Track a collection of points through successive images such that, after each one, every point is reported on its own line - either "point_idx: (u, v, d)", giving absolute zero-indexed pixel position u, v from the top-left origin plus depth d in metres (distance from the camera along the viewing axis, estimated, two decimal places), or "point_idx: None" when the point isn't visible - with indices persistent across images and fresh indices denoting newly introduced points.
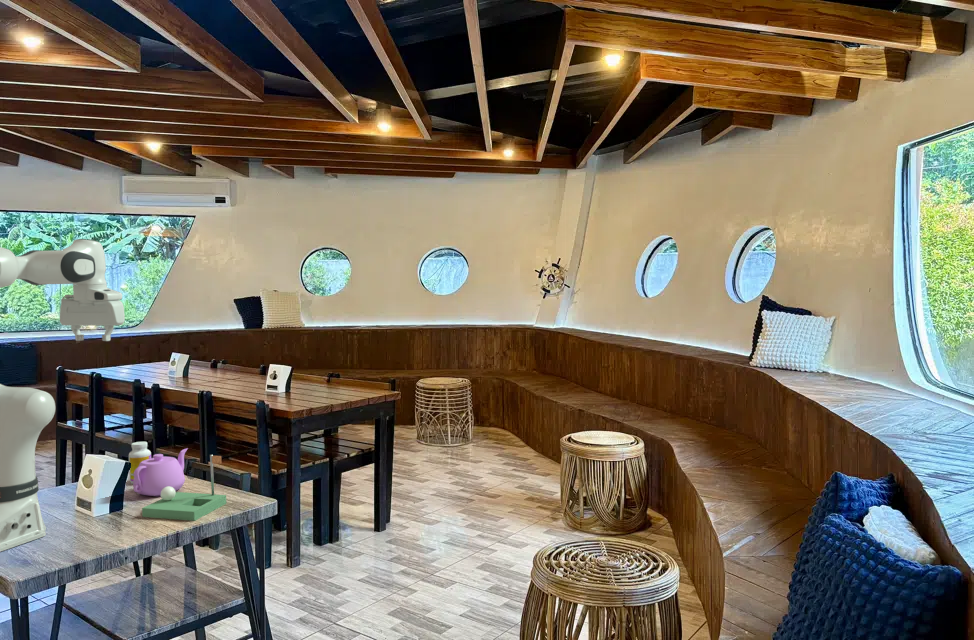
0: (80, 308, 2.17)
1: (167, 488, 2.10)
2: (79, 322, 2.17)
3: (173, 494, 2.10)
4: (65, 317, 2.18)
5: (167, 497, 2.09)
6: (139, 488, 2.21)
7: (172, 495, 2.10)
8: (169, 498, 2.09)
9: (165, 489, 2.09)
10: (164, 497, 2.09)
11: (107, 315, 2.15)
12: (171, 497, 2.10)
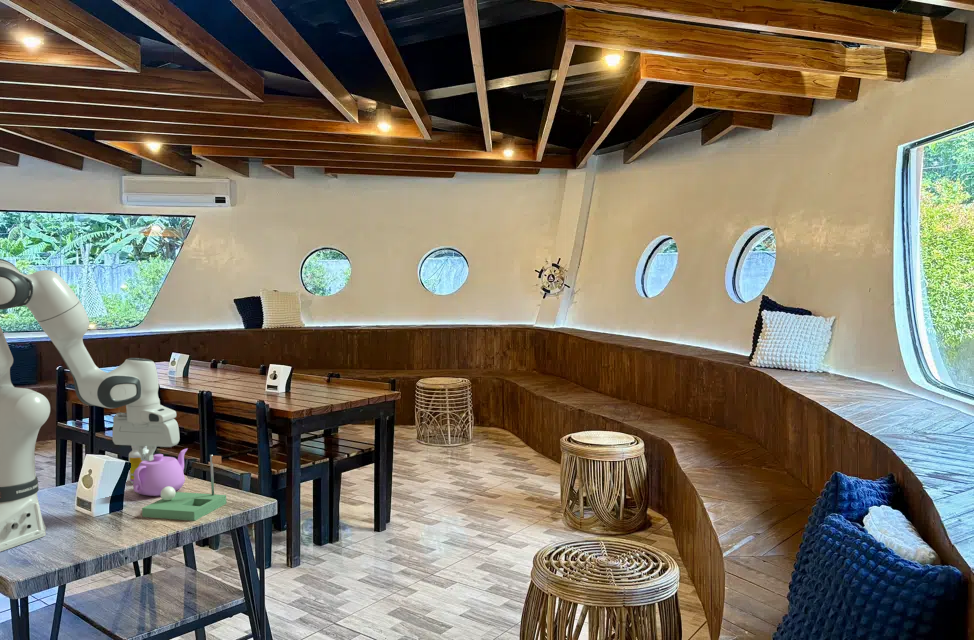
0: (133, 428, 2.10)
1: (167, 488, 2.10)
2: (133, 442, 2.10)
3: (173, 494, 2.10)
4: (118, 437, 2.12)
5: (167, 497, 2.09)
6: (139, 488, 2.21)
7: (172, 495, 2.10)
8: (169, 498, 2.09)
9: (165, 489, 2.09)
10: (164, 497, 2.09)
11: (162, 436, 2.08)
12: (171, 497, 2.10)
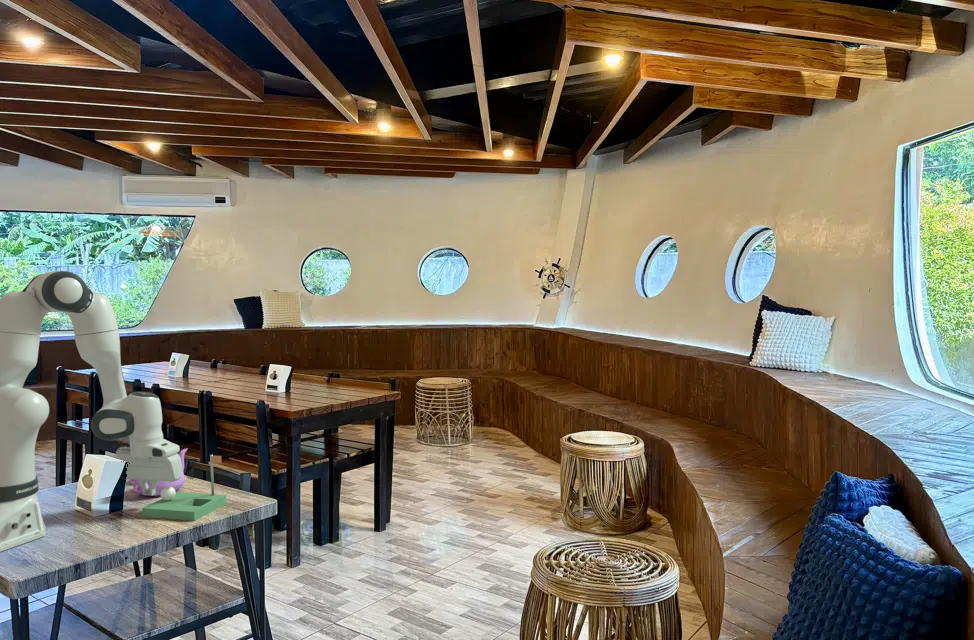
0: (136, 462, 2.11)
1: (167, 488, 2.10)
2: (135, 476, 2.11)
3: (173, 494, 2.10)
4: None
5: (167, 497, 2.09)
6: (139, 488, 2.21)
7: (172, 495, 2.10)
8: (169, 498, 2.09)
9: (165, 489, 2.09)
10: (164, 497, 2.09)
11: (165, 471, 2.08)
12: (171, 497, 2.10)
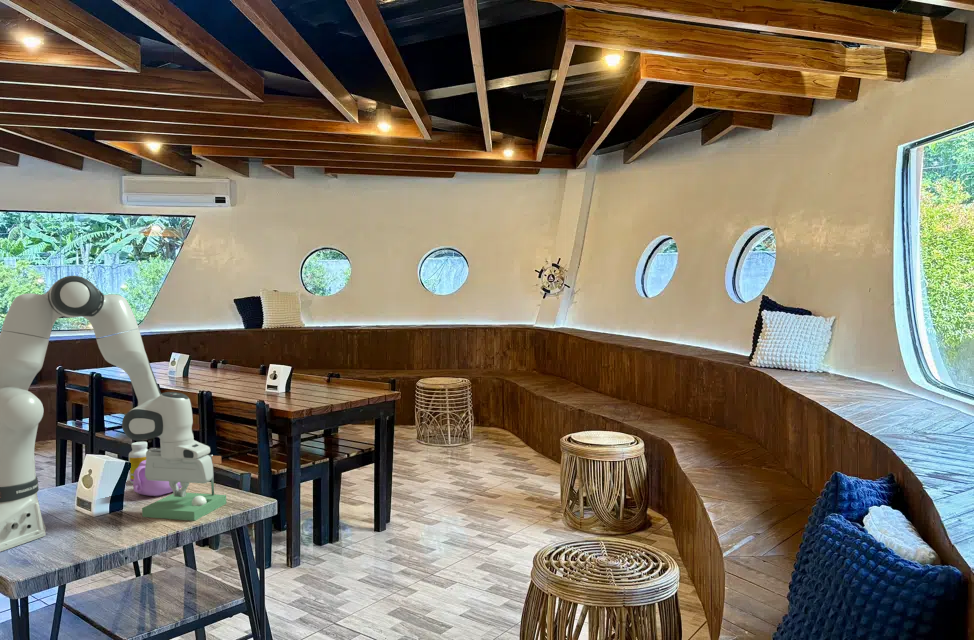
0: (167, 464, 2.08)
1: (193, 499, 2.08)
2: (166, 478, 2.09)
3: (201, 498, 2.08)
4: (151, 472, 2.10)
5: (198, 503, 2.07)
6: (139, 488, 2.21)
7: (201, 499, 2.08)
8: (201, 502, 2.07)
9: (192, 500, 2.08)
10: (196, 505, 2.07)
11: (196, 472, 2.06)
12: (202, 501, 2.08)
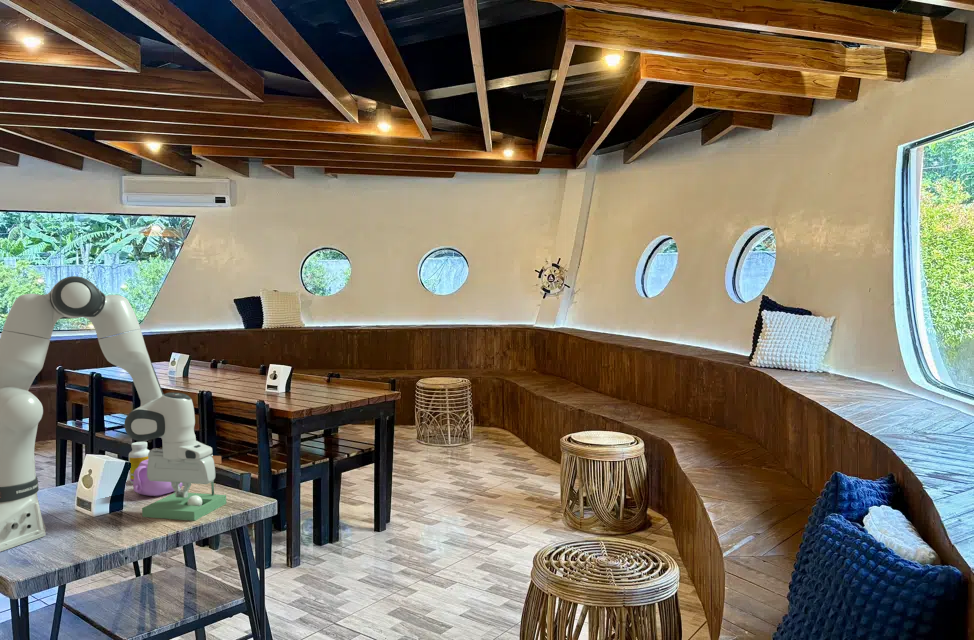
0: (169, 464, 2.08)
1: (187, 502, 2.09)
2: (168, 479, 2.08)
3: (193, 496, 2.09)
4: (153, 473, 2.09)
5: (192, 500, 2.07)
6: (139, 488, 2.21)
7: (193, 496, 2.08)
8: (195, 499, 2.08)
9: (187, 503, 2.08)
10: (192, 503, 2.07)
11: (198, 473, 2.06)
12: (195, 497, 2.08)
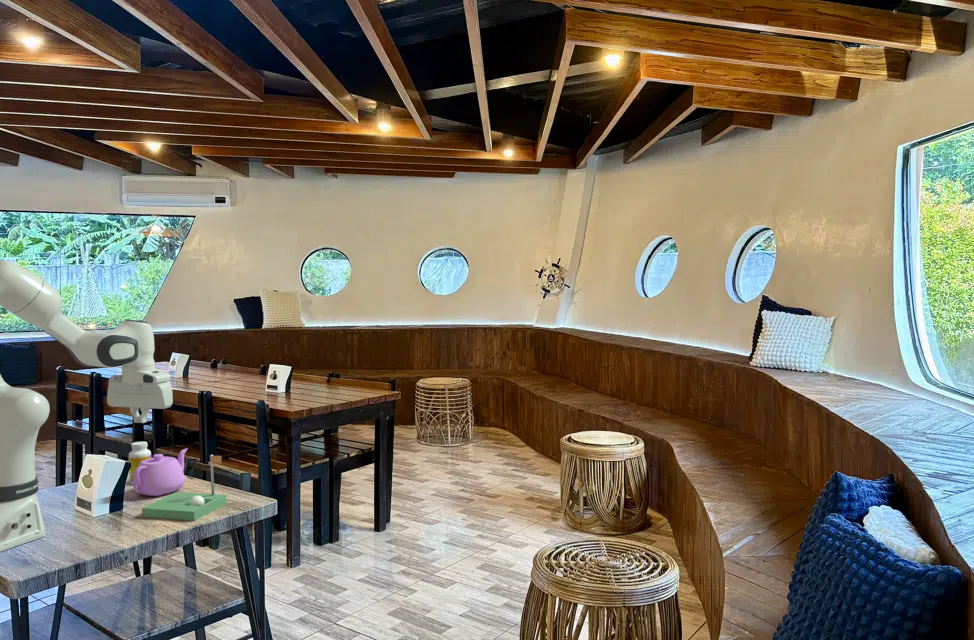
0: (128, 389, 2.13)
1: (190, 500, 2.08)
2: (127, 404, 2.13)
3: (198, 496, 2.08)
4: (112, 398, 2.14)
5: (195, 501, 2.07)
6: (139, 488, 2.21)
7: (197, 497, 2.08)
8: (198, 501, 2.07)
9: None
10: (194, 504, 2.07)
11: (155, 398, 2.10)
12: (199, 499, 2.08)
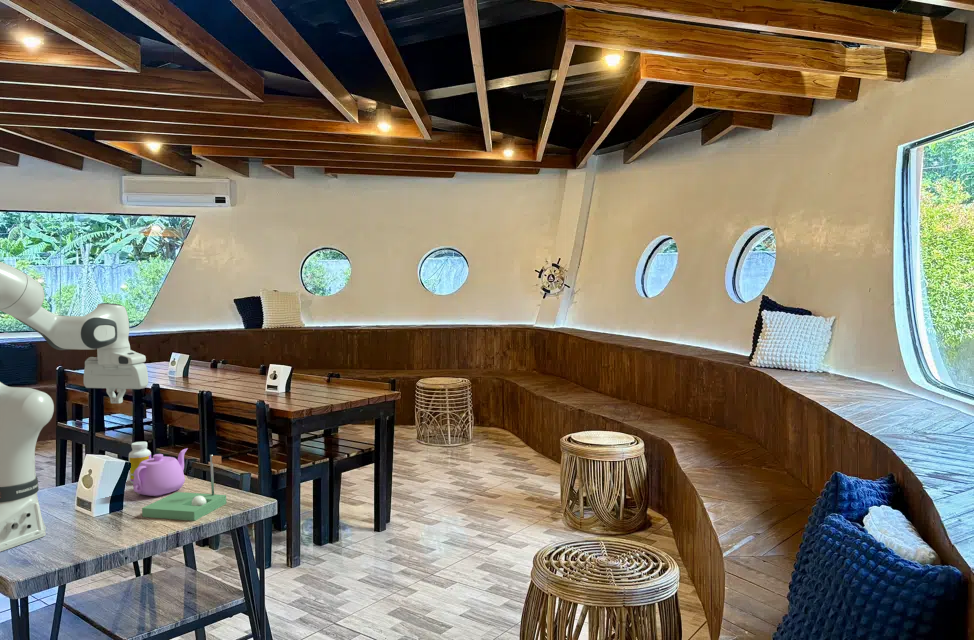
0: (104, 371, 2.18)
1: (193, 499, 2.08)
2: (103, 385, 2.18)
3: (201, 497, 2.08)
4: (89, 380, 2.19)
5: (198, 502, 2.07)
6: (139, 488, 2.21)
7: (200, 498, 2.08)
8: (201, 502, 2.07)
9: (192, 500, 2.08)
10: (196, 505, 2.07)
11: (131, 378, 2.16)
12: (202, 500, 2.08)
